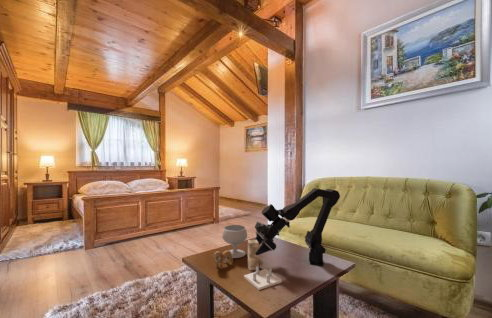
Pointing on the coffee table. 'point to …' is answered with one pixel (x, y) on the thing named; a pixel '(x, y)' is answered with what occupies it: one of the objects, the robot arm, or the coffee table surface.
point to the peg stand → (262, 278)
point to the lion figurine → (222, 257)
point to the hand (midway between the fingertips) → (253, 251)
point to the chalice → (235, 238)
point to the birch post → (253, 254)
